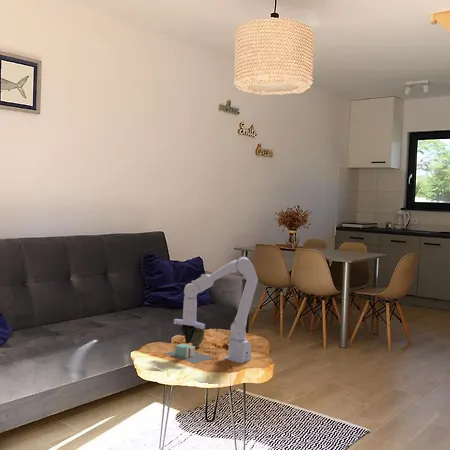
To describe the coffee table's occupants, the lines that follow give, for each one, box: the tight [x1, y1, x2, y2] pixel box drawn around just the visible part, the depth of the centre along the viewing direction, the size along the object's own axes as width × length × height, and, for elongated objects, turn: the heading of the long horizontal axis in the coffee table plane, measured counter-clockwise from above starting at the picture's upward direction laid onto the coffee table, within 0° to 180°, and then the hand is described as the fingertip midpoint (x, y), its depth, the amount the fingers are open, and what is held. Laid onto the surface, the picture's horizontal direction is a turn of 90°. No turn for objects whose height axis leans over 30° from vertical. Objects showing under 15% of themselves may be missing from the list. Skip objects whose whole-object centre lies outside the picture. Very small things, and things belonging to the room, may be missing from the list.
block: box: [174, 343, 196, 358], centre depth 235 cm, size 4×5×7 cm
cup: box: [190, 328, 205, 348], centre depth 250 cm, size 8×7×8 cm
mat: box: [164, 350, 214, 364], centre depth 235 cm, size 18×12×1 cm, turn 50°
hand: (188, 342), depth 234 cm, fingers closed
